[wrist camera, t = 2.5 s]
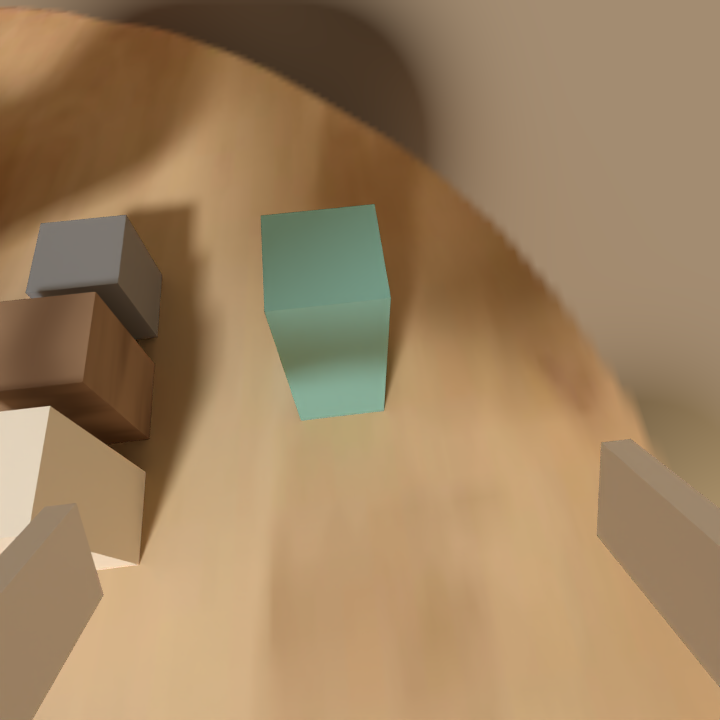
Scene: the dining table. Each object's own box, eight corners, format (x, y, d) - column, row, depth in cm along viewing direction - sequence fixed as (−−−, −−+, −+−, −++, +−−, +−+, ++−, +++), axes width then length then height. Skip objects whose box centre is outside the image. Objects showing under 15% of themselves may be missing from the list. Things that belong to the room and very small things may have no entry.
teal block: (301, 420, 31) (264, 311, 20) (296, 347, 33) (260, 215, 23) (383, 410, 31) (390, 298, 20) (373, 339, 33) (374, 204, 23)
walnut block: (63, 449, 30) (-30, 394, 23) (75, 373, 33) (-7, 302, 26) (149, 438, 31) (82, 382, 23) (155, 364, 33) (95, 291, 26)
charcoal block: (80, 345, 34) (25, 293, 28) (89, 283, 36) (40, 223, 31) (157, 337, 34) (117, 283, 28) (162, 275, 36) (126, 214, 31)
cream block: (43, 576, 27) (-116, 552, 18) (57, 482, 29) (-78, 420, 21) (139, 564, 27) (28, 534, 18) (145, 472, 30) (49, 406, 21)
